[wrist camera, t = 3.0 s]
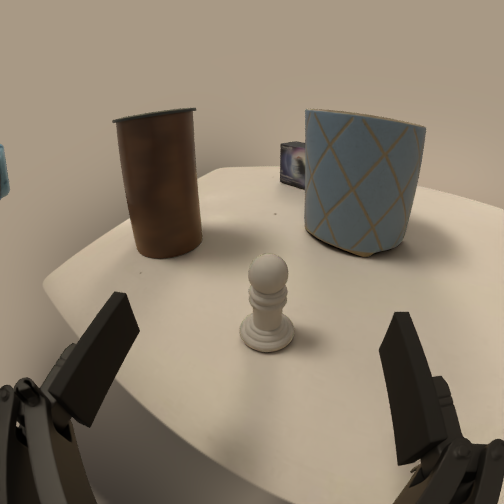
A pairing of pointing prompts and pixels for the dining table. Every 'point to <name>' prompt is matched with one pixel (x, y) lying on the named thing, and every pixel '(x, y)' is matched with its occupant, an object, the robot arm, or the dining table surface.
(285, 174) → the small box
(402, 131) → the planter
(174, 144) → the walnut pedestal
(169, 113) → the slate board
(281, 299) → the chess piece
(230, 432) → the dining table surface
